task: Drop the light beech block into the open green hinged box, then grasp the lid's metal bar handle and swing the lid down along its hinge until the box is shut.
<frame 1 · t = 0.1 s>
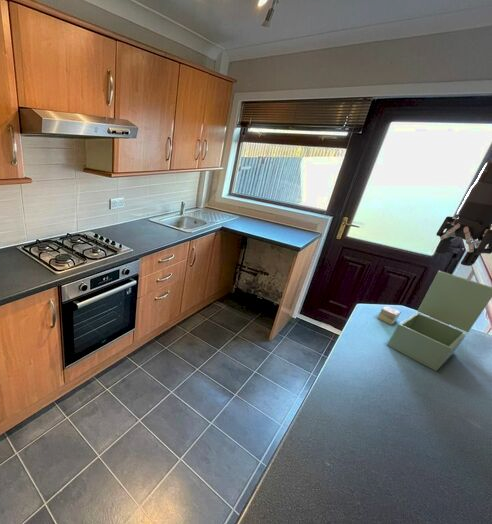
hand: (452, 258, 78), 33 cm above the countertop, tool pointing down, fingers open, 8 cm apart
lid: (456, 298, 89), point 18 cm above the countertop, hinge at 80.0°
green hinged box: (419, 349, 93), on the countertop
block: (386, 320, 108), on the countertop
flask: (434, 328, 105), on the countertop
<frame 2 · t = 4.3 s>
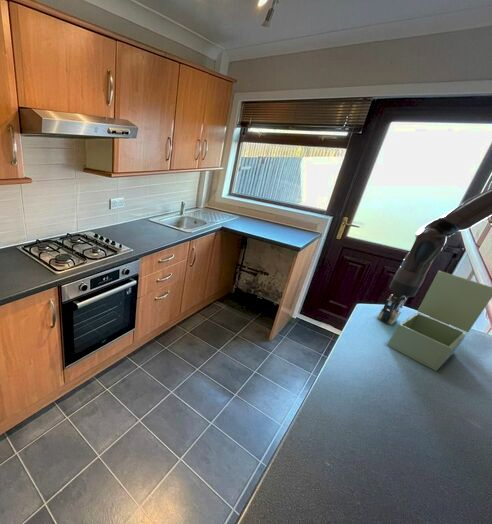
hand: (386, 319, 107), 0 cm above the countertop, tool pointing down, fingers closed on block, 4 cm apart
block: (386, 320, 108), on the countertop, touching gripper
everything else where it was.
when the fingers open (8 cm above the countertop, at t = 13.2 s): block drops 7 cm, resting on green hinged box.
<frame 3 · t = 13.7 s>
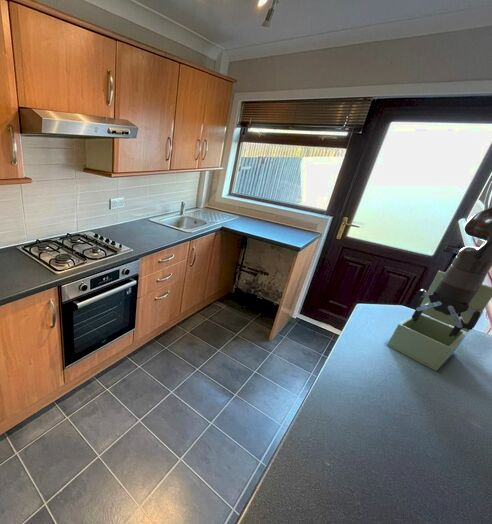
hand: (432, 327, 88), 10 cm above the countertop, tool pointing down, fingers open, 8 cm apart
block: (418, 350, 91), point 1 cm above the countertop, touching green hinged box
everything else where it was.
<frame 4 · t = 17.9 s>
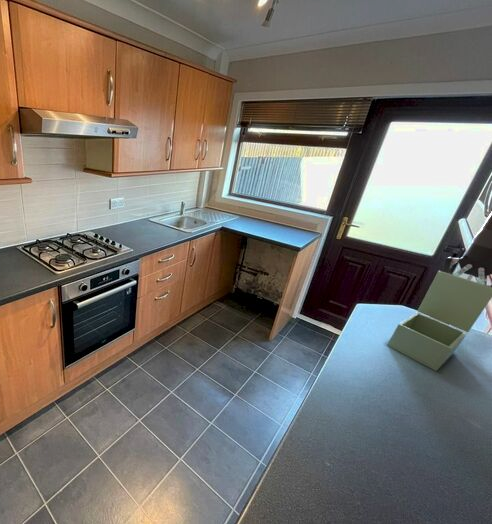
hand: (459, 293, 89), 19 cm above the countertop, tool pointing down, fingers closed on lid, 5 cm apart
lid: (456, 298, 89), point 18 cm above the countertop, hinge at 80.0°, touching gripper
everything else where it was.
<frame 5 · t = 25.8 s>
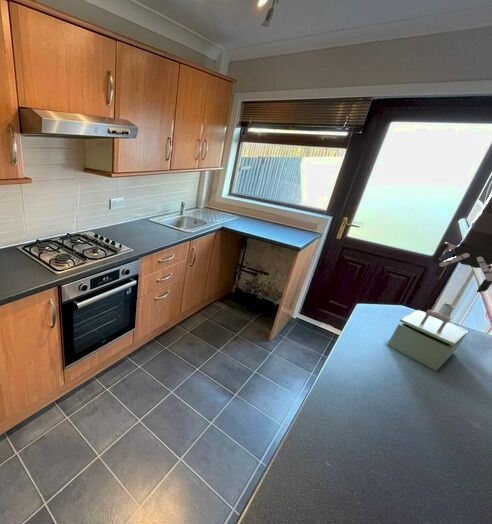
hand: (457, 284, 79), 26 cm above the countertop, tool pointing down, fingers open, 8 cm apart
lid: (438, 319, 87), point 13 cm above the countertop, hinge at 4.9°
everything else where it was.
at the end: block inside the target area in the green hinged box (2.0 cm from its centre), point 0.8 cm above the green hinged box's base; lid at +5° (first picture: +80°) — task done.
